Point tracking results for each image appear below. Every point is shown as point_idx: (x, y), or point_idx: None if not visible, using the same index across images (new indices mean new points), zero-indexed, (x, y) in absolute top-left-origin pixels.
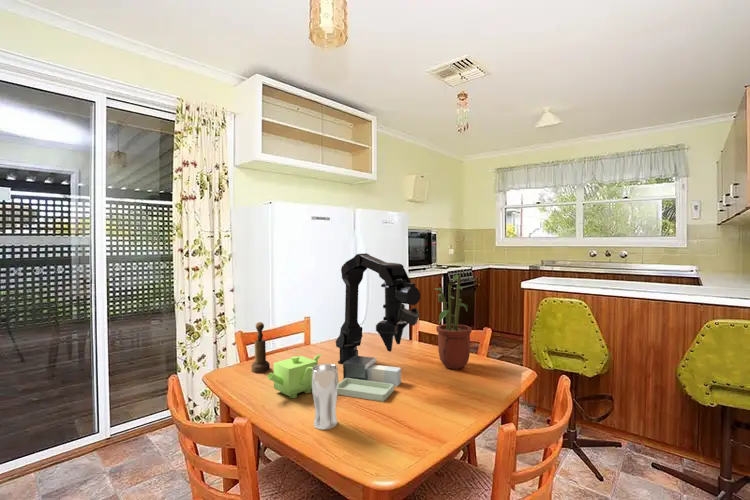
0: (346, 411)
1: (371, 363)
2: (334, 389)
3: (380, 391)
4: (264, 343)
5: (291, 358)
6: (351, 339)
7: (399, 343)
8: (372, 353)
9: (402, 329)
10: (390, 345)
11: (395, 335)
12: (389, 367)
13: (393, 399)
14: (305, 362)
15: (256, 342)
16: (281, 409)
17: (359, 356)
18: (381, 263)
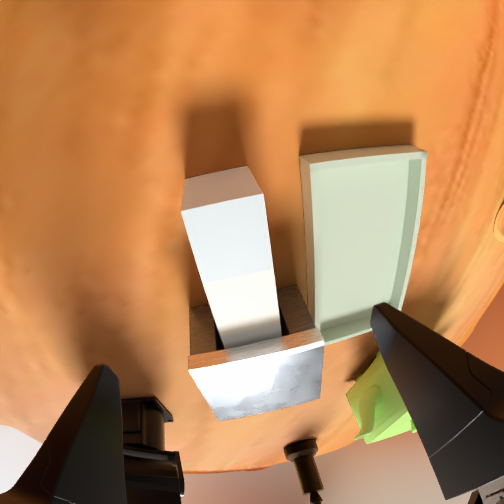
0: (470, 214)
1: (256, 349)
2: None
3: (351, 196)
4: (311, 487)
5: (391, 436)
6: (160, 474)
7: (103, 369)
8: (44, 393)
9: (48, 498)
10: (432, 340)
11: (114, 458)
12: (216, 269)
13: (382, 119)
14: None
15: (323, 488)
16: (458, 319)
17: (218, 409)
18: None
